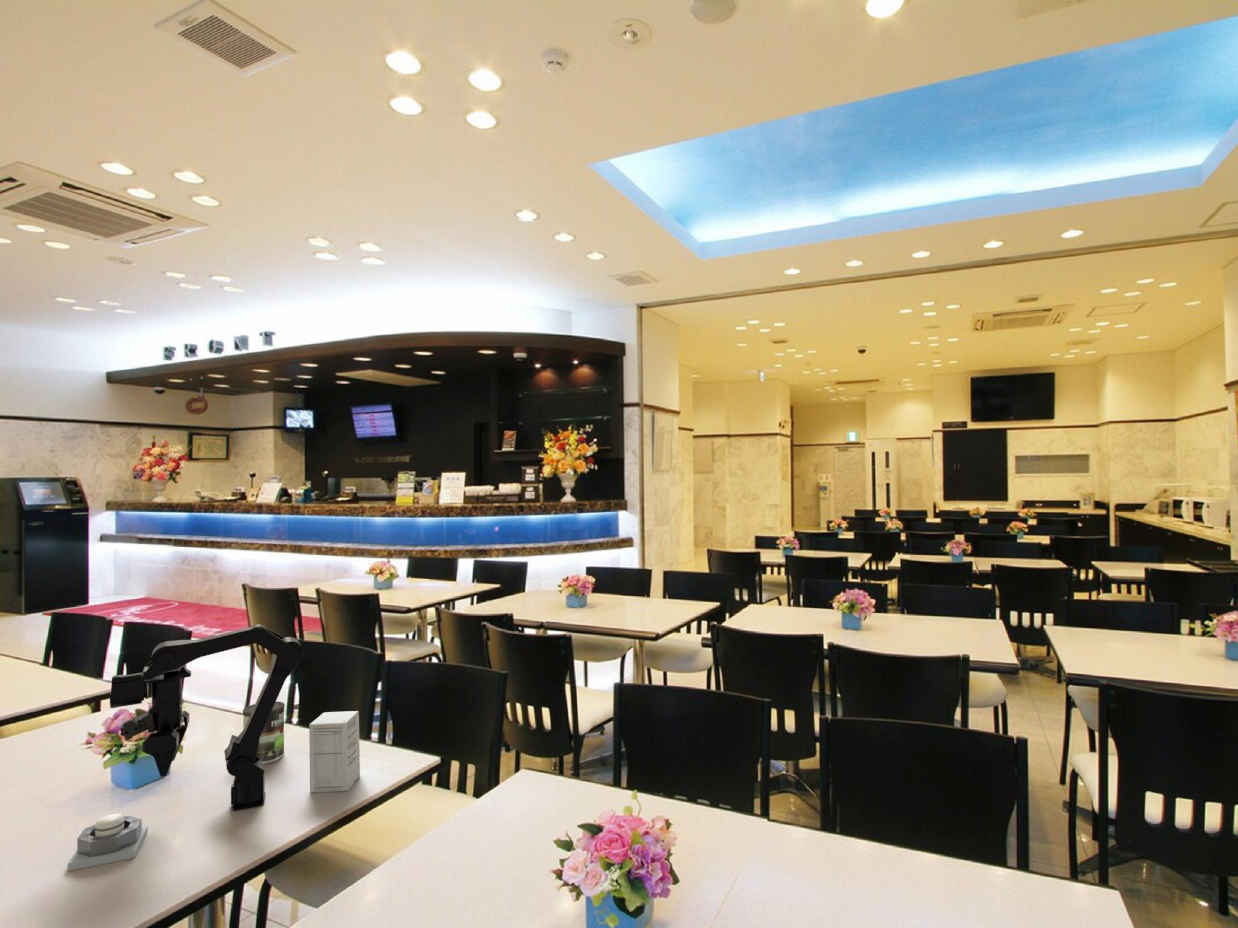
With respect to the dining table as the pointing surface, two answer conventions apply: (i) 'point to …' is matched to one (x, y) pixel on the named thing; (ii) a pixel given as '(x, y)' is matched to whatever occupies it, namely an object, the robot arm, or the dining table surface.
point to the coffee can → (270, 733)
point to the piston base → (107, 857)
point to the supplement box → (334, 751)
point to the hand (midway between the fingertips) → (167, 768)
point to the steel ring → (109, 839)
